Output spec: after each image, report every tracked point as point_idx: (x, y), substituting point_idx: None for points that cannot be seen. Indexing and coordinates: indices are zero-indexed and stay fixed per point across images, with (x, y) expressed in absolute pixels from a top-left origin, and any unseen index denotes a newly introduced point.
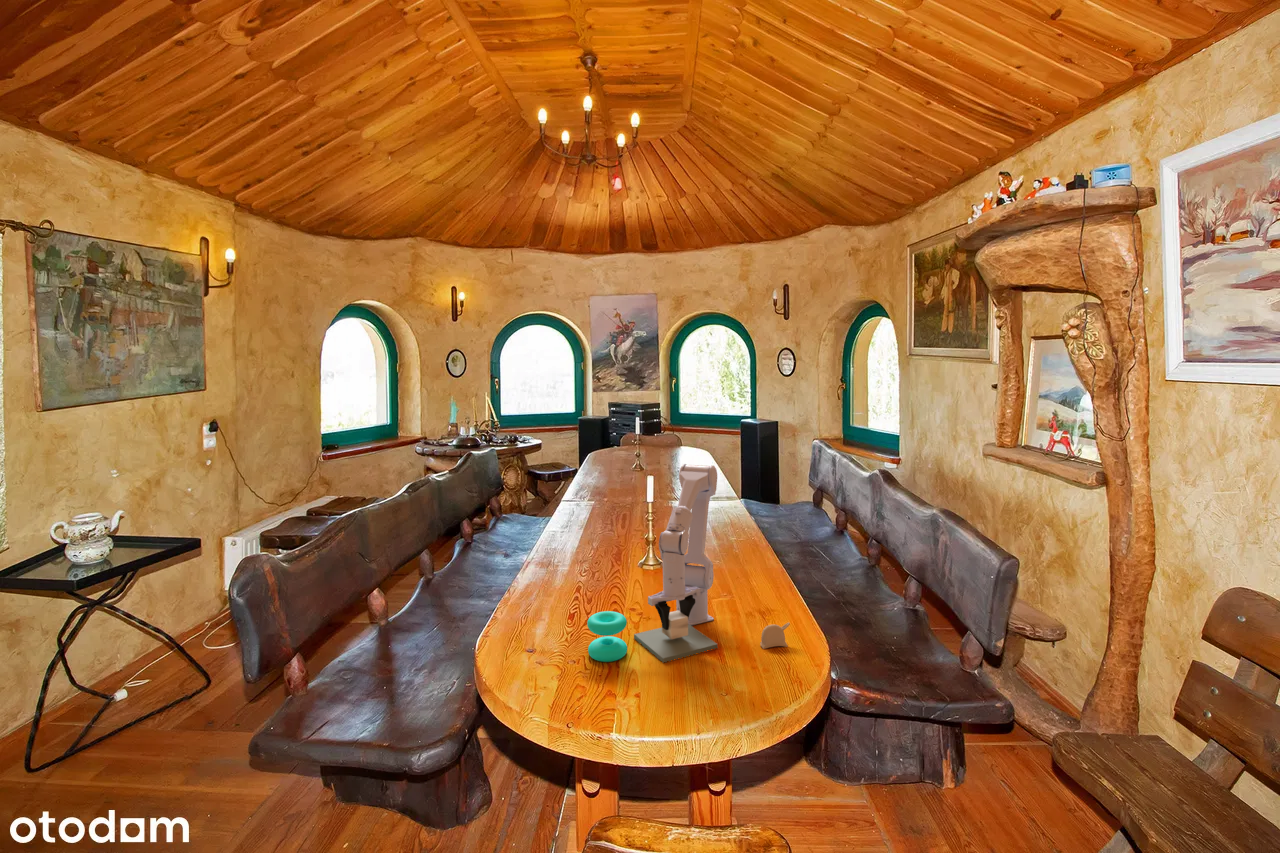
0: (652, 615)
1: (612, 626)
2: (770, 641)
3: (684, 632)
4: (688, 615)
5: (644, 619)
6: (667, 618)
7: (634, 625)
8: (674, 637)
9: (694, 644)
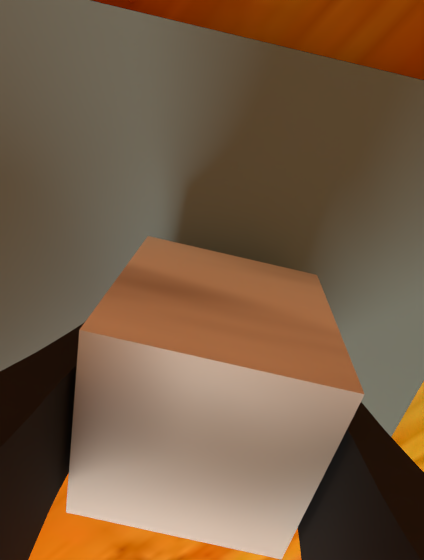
0: (91, 556)
1: None
2: None
3: (180, 256)
4: (37, 360)
5: (149, 555)
6: (380, 458)
7: (231, 548)
8: (286, 273)
9: (165, 130)
